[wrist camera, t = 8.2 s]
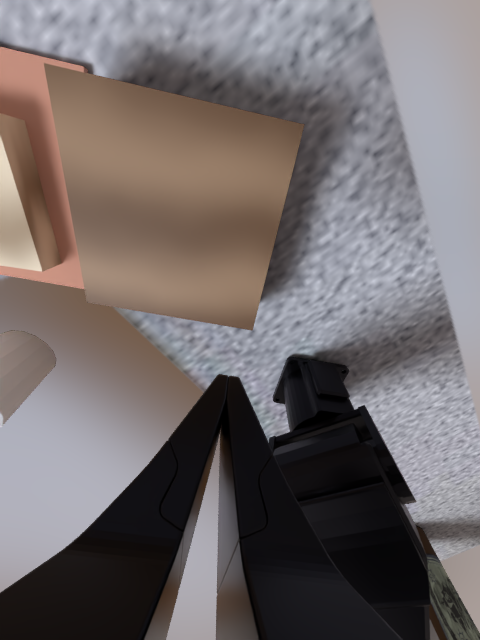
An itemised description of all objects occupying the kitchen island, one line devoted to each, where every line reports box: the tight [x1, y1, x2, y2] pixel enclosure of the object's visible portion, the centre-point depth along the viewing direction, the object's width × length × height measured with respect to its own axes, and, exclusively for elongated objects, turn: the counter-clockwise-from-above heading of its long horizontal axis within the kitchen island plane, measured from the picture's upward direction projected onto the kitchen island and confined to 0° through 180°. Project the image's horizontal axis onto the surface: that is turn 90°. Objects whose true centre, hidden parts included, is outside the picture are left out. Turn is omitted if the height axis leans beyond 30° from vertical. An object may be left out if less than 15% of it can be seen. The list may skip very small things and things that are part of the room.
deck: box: [44, 63, 304, 330], centre depth 15 cm, size 12×12×4 cm
